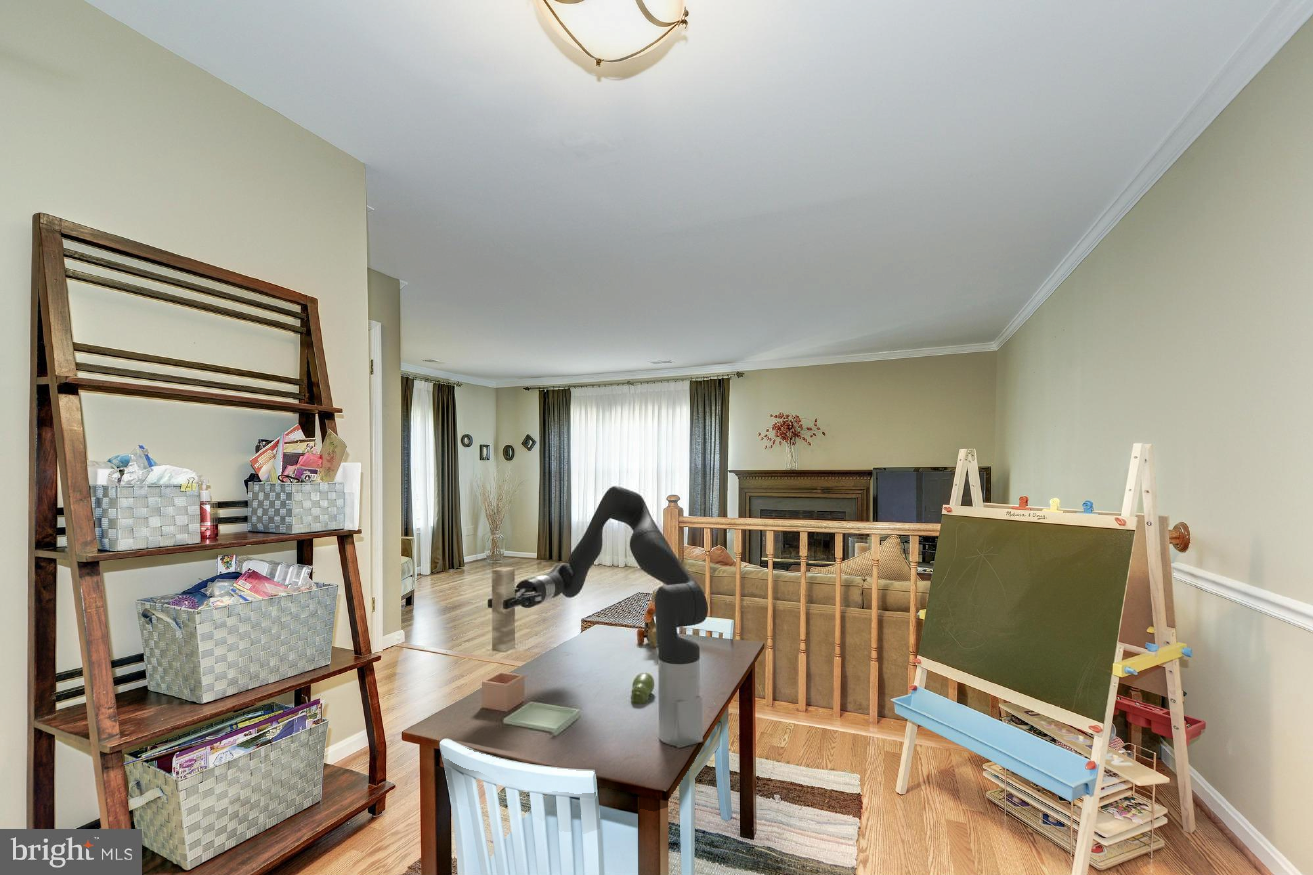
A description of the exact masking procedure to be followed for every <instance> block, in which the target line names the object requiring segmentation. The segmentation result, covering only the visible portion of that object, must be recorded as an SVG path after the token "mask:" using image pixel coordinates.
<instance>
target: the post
mask: <svg viewBox="0 0 1313 875" xmlns="http://www.w3.org/2000/svg"><path fill="white" fill-rule="evenodd" d="M515 572H516V571H515V567H508V566H507V567H505V566H502V567H497V568H493V569H491V598H492V608H491V651H492V652H498V653H499V652H500V653H507V652H510V651H512V650H514V649H515V648H516V612H515V611H516V607H512V608H509V609H503V601H504V600H506V599H509V598H514V596H515V588H516V579H515V578H516V577H515Z"/></svg>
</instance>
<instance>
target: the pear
mask: <svg viewBox="0 0 1313 875" xmlns="http://www.w3.org/2000/svg"><path fill="white" fill-rule="evenodd" d="M631 686H632V687H631V688H632V689H631V696H630V700H631V703H634V704H635V703H636V704H645V703H647V702H648V701H649V695H650V694H651V693H652V692H653V691H654V688H655V679H654V677H653V676H652V675H651V674H650V673H647V672H642V673H641V672H640V673H639V674H638V675H636V677H635V678H634V680H633V682H632V685H631Z"/></svg>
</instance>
